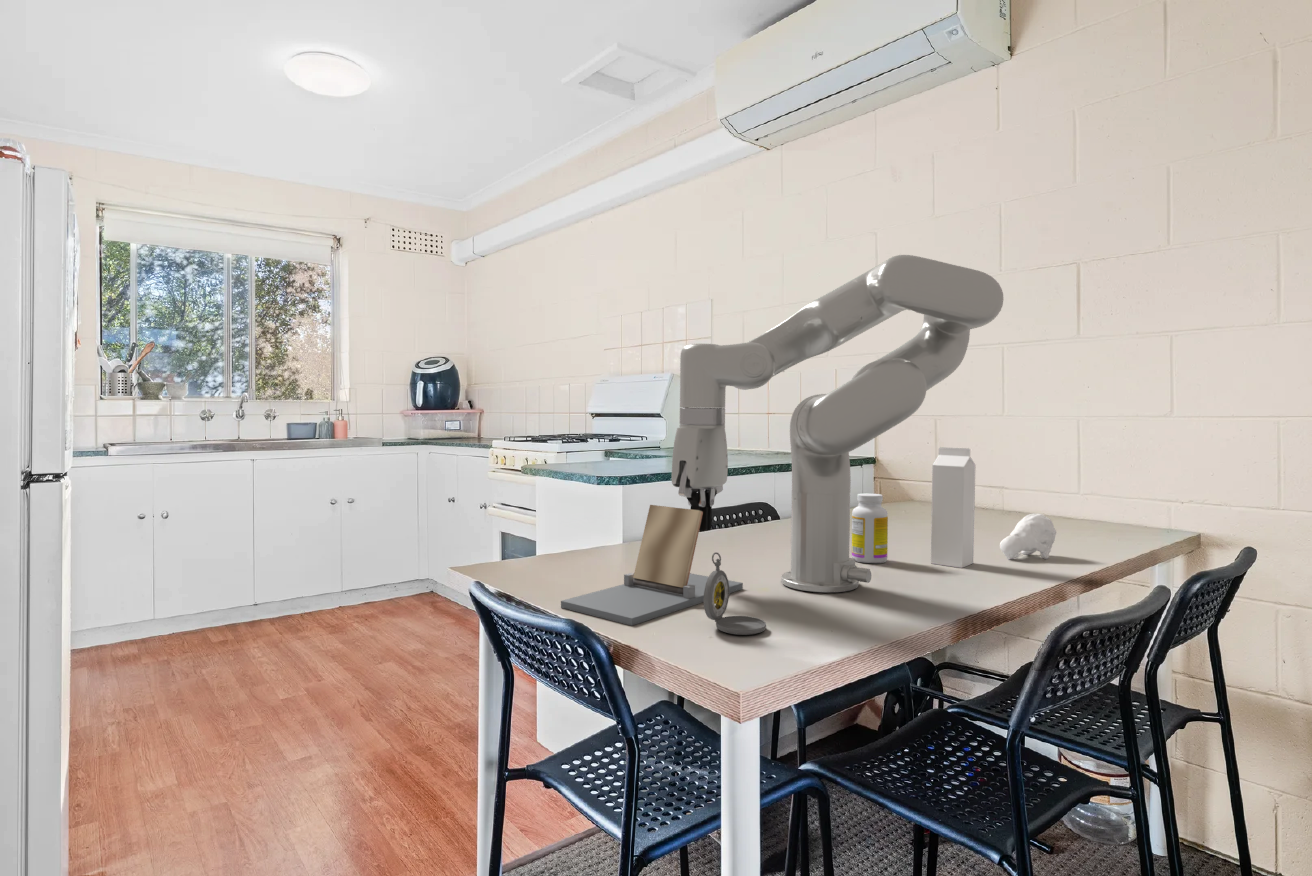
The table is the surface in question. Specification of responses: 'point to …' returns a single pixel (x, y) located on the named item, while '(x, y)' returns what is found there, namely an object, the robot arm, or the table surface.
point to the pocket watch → (730, 624)
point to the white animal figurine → (1030, 537)
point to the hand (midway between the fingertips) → (700, 529)
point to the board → (640, 600)
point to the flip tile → (667, 548)
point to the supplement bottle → (869, 529)
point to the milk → (953, 508)
